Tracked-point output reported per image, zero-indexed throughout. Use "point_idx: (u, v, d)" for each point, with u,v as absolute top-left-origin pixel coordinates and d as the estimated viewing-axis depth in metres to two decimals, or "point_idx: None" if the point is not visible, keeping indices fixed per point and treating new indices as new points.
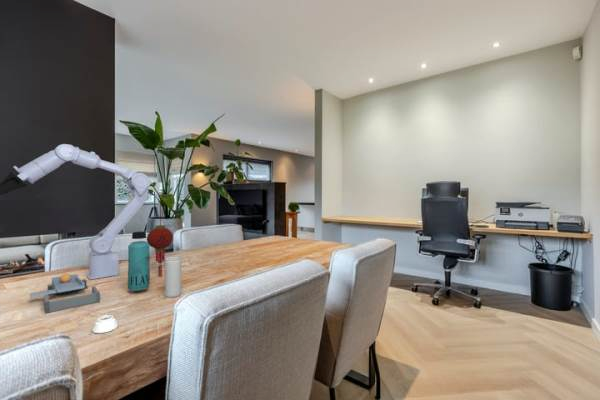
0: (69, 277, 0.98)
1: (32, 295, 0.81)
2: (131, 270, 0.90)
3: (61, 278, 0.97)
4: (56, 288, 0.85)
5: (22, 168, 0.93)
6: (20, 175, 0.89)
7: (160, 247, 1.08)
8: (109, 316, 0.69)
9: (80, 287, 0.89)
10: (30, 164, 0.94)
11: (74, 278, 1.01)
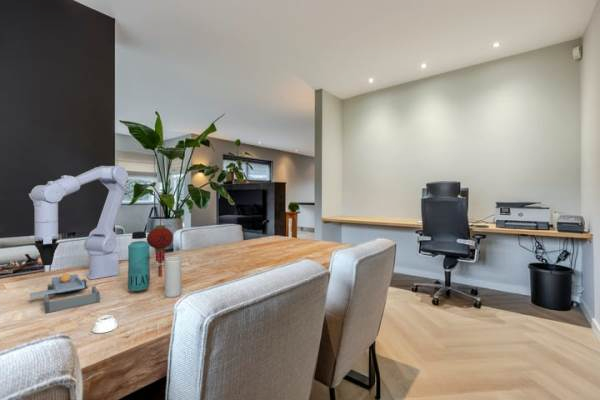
0: (69, 277, 0.98)
1: (32, 295, 0.81)
2: (131, 270, 0.90)
3: (61, 278, 0.97)
4: (56, 288, 0.85)
5: (37, 234, 0.89)
6: (45, 242, 0.86)
7: (160, 247, 1.08)
8: (109, 316, 0.69)
9: (80, 287, 0.89)
10: (37, 226, 0.89)
11: (74, 278, 1.01)
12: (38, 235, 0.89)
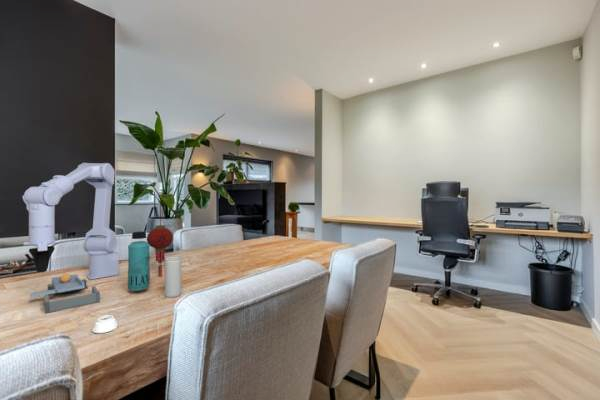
0: (69, 277, 0.98)
1: (32, 295, 0.81)
2: (131, 270, 0.90)
3: (61, 278, 0.97)
4: (56, 288, 0.85)
5: (31, 239, 0.82)
6: (39, 248, 0.79)
7: (160, 247, 1.08)
8: (109, 316, 0.69)
9: (80, 287, 0.89)
10: (32, 231, 0.82)
11: (74, 278, 1.01)
12: (32, 241, 0.82)
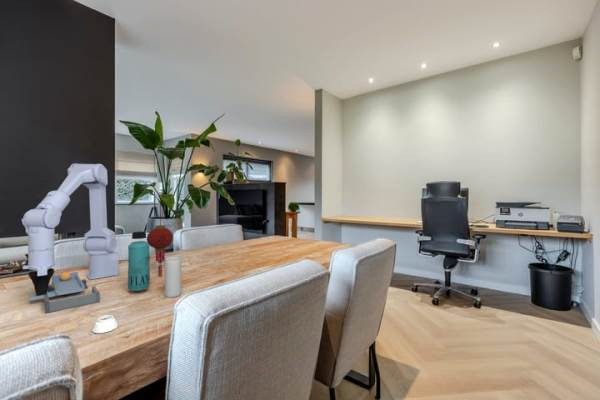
0: (69, 275, 0.98)
1: (32, 298, 0.81)
2: (131, 270, 0.90)
3: (61, 277, 0.97)
4: (56, 291, 0.85)
5: (31, 263, 0.80)
6: (39, 273, 0.78)
7: (160, 247, 1.08)
8: (109, 316, 0.69)
9: (80, 290, 0.89)
10: (31, 255, 0.80)
11: (74, 276, 1.01)
12: (32, 265, 0.80)
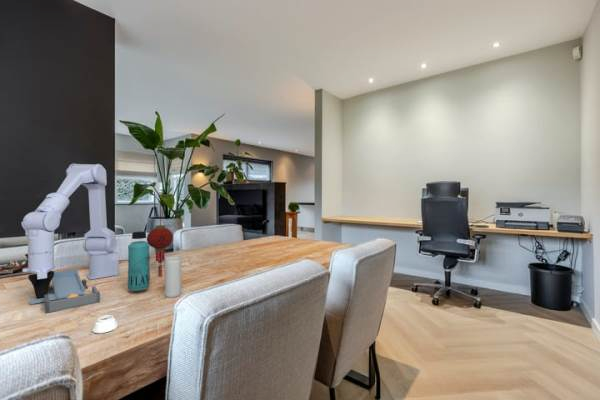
0: None
1: (32, 302, 0.81)
2: (131, 270, 0.90)
3: None
4: (56, 295, 0.85)
5: (30, 266, 0.80)
6: (39, 276, 0.78)
7: (160, 247, 1.08)
8: (109, 316, 0.69)
9: (80, 293, 0.89)
10: (31, 258, 0.80)
11: (74, 273, 1.01)
12: (32, 268, 0.80)
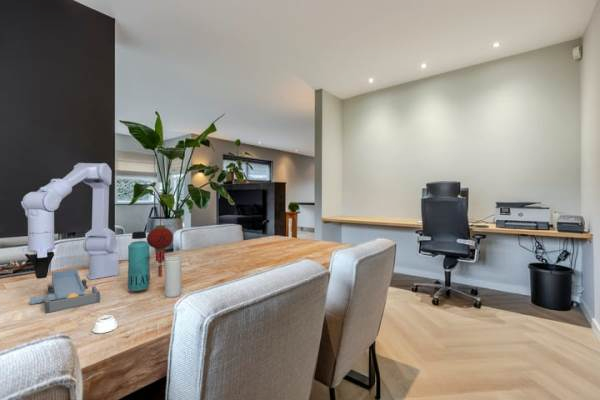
0: None
1: (32, 302, 0.81)
2: (131, 270, 0.90)
3: None
4: (56, 295, 0.85)
5: (30, 246, 0.80)
6: (39, 255, 0.78)
7: (160, 247, 1.08)
8: (109, 316, 0.69)
9: (80, 293, 0.89)
10: (31, 237, 0.80)
11: (74, 273, 1.01)
12: (32, 247, 0.80)
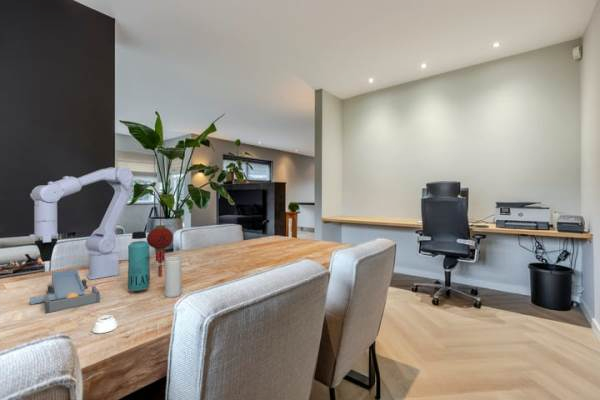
0: None
1: (32, 302, 0.81)
2: (131, 270, 0.90)
3: None
4: (56, 295, 0.85)
5: (37, 232, 0.92)
6: (44, 240, 0.89)
7: (160, 247, 1.08)
8: (109, 316, 0.69)
9: (80, 293, 0.89)
10: (37, 225, 0.92)
11: (74, 273, 1.01)
12: (38, 234, 0.92)
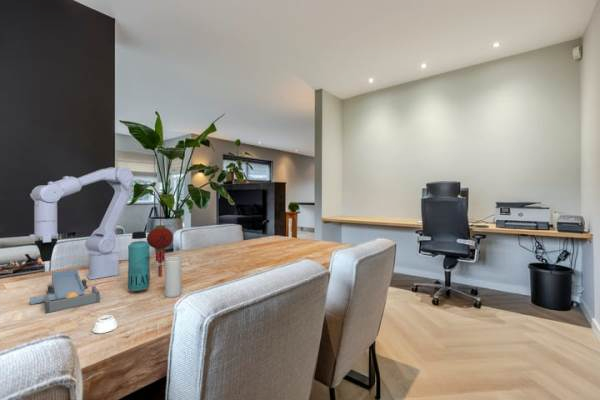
0: None
1: (32, 302, 0.81)
2: (131, 270, 0.90)
3: None
4: (56, 295, 0.85)
5: (37, 232, 0.92)
6: (44, 240, 0.89)
7: (160, 247, 1.08)
8: (109, 316, 0.69)
9: (80, 293, 0.89)
10: (37, 225, 0.92)
11: (74, 273, 1.01)
12: (38, 234, 0.92)
